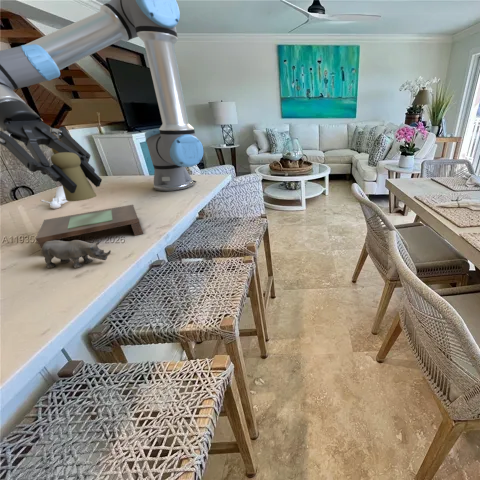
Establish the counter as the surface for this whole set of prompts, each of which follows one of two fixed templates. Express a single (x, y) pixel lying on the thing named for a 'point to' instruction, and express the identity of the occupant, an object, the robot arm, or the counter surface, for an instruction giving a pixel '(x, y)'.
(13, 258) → the counter surface
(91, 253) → the rhino figurine
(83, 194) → the cork
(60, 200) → the woman figurine
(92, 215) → the shelf
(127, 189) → the counter surface
